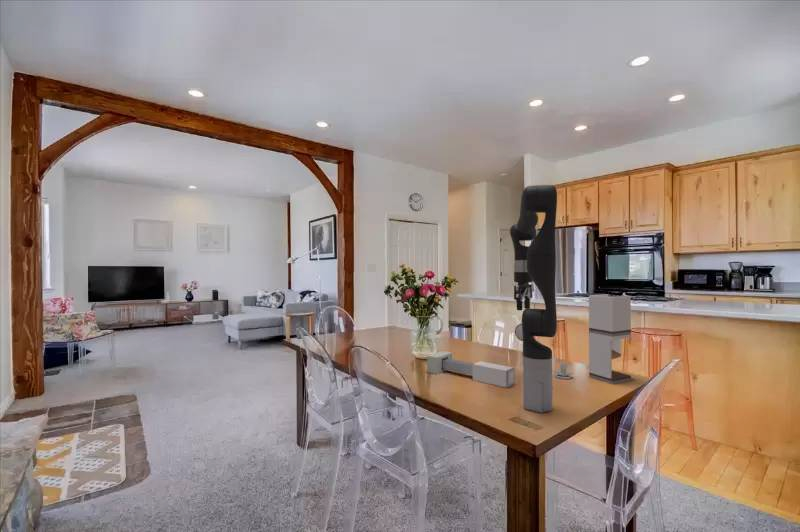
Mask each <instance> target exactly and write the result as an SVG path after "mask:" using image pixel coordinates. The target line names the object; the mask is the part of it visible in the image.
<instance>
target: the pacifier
mask: <svg viewBox="0 0 800 532" xmlns="http://www.w3.org/2000/svg"><path fill="white" fill-rule="evenodd" d="M559 368H560V371H559V370H557V369H554V373H555V374H554V377H555V378H559V379H563V380H569V379H572V377H571V375H572V374H574V373H573V372H572V371H571V372H567V369H568V365H567V362H564V361H562V362H560V363H559Z"/></svg>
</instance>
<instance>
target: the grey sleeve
mask: <svg viewBox="0 0 800 532" xmlns="http://www.w3.org/2000/svg"><path fill="white" fill-rule="evenodd" d="M472 381H474V382H475V381H476V382H480V383H484V384H485V383H486V384H489V385H493V386H498V387H502V388H507V389H508V387H509V388H510V387H511V386H513V385H515V367H513V366H509V365H508V366H506V365H503V364H495V363H491V362H486V361H481V360H479V361H477V362H475V363H474V364H473V375H472Z"/></svg>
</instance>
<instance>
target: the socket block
mask: <svg viewBox="0 0 800 532" xmlns="http://www.w3.org/2000/svg"><path fill="white" fill-rule="evenodd" d="M443 358H448V359H453V353H452V352H451V351H450V352H449V351H443V350H442V351H438V352H435V353H432V354H428V355H427V356H426V362H427V363H426V364H427V365H426V368H427V369H426V370H427V371H426V372H427V373H431V374H434V375H438V374H439V375H440V374H441V373H444V372H447V371H448V370H445V369H442V359H443Z"/></svg>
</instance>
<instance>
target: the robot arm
mask: <svg viewBox="0 0 800 532" xmlns="http://www.w3.org/2000/svg"><path fill="white" fill-rule="evenodd" d="M557 208H558V191H557V188H556V186H555V185H554V184H542V185H541V184H540V185H539V184H537V185H535V184H534V185H528V186H526V187H525V188H523V191H522V195H521V201H520V208H519V210H520V211H519V218H518V221H517V224H516V223H514V224H513V225H512V226H511V227H510V229H509V233H510V238H511V241H512V245H513V250H514V262H513V281H514V283H517V285H516V284H515V285H514V286H513V300H515V301H516V310H517V311H522V314H521V324H522V333H523V341H522V363H523V364H522V367H523V368H522V370H523V371H522V376H523V377H522V378H523V379H522V380H523V381H522V384H523V385H522V387H523V388H522V391H523V393H522V394H523V398H522V399H523V402H522V403H523V409H525V410H528V411H533V412H537V413H540V414H543V413H546V412H551V411H552V410H553V351H552V348H551V347H549V346H548V345H545V344H543V343H541V342H539V341H538V340H536V338H535V337H541V338H542V337H543V338H554V337H555V336H556V334H557V328H558V323H557V322H558V321H557V317H558V316H557V304H556V303H557V302H556V300H557V299H556V270H557V261H556V260H557V258H556V256H557V254H556V253H557V249H556V222H557V221H556V220H557V210H558V209H557ZM537 213H542V214H543V213H545V214H544V220H543V223H542V225H541V227H540V229H539V231H538V232H537V228H536V226H537V224H538V222H539V216H538V214H537ZM520 241H521V242H525V241H526V242H528V241H531V243H530V244H529V245H523V244H521V242H520ZM531 283H533V284H534V285H535V286H536V287H537V289H538V291H539V292H540V295H541V296H542V299H543V302H544V306H545V307H544V309H543V308H531V301H532V299H533V284H531ZM523 300H524V301H523ZM523 303H524V304H523ZM523 305H524V306H523ZM523 307H524V310H523Z"/></svg>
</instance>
